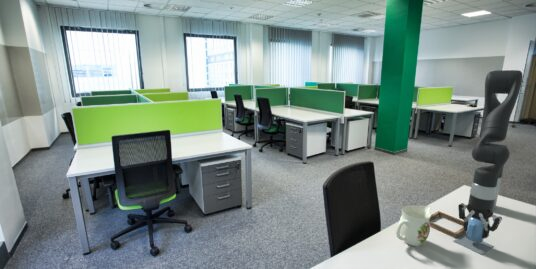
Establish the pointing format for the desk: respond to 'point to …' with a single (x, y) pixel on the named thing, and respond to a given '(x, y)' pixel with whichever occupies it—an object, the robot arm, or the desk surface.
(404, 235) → the pitcher
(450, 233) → the holder
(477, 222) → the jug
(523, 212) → the desk surface
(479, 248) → the mat
